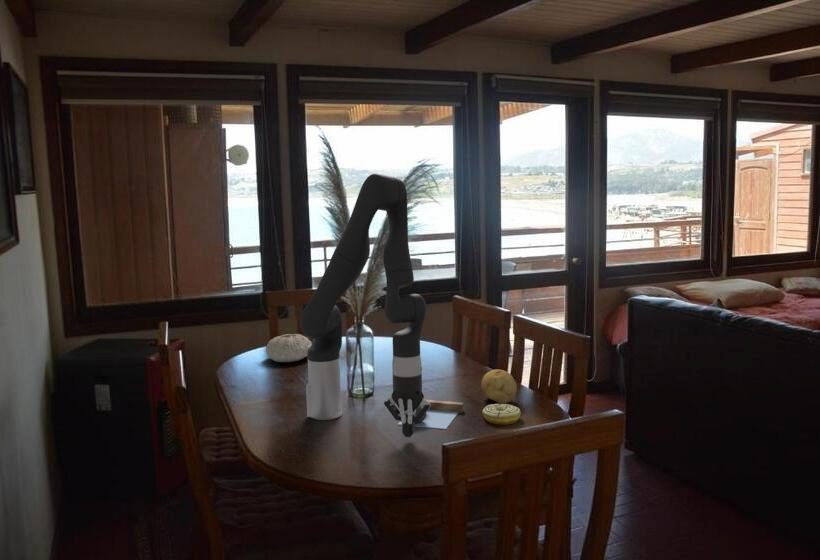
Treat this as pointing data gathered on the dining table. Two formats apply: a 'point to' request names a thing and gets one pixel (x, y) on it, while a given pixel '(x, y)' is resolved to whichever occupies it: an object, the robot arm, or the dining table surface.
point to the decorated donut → (501, 414)
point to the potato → (499, 386)
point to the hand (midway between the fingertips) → (408, 436)
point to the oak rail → (446, 406)
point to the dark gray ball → (418, 413)
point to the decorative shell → (288, 348)
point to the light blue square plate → (436, 419)
